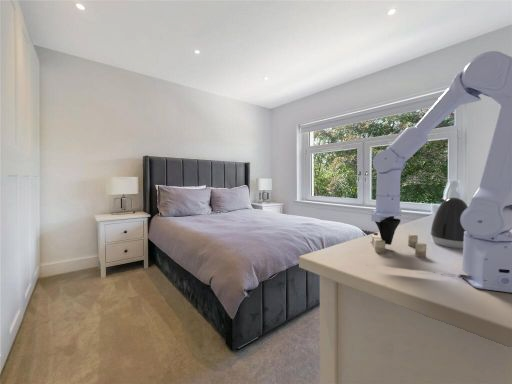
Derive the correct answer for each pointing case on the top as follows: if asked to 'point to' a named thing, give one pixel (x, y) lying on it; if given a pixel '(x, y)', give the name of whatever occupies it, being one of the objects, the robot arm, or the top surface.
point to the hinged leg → (374, 238)
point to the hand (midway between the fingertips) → (386, 244)
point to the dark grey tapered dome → (449, 223)
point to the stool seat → (412, 242)
